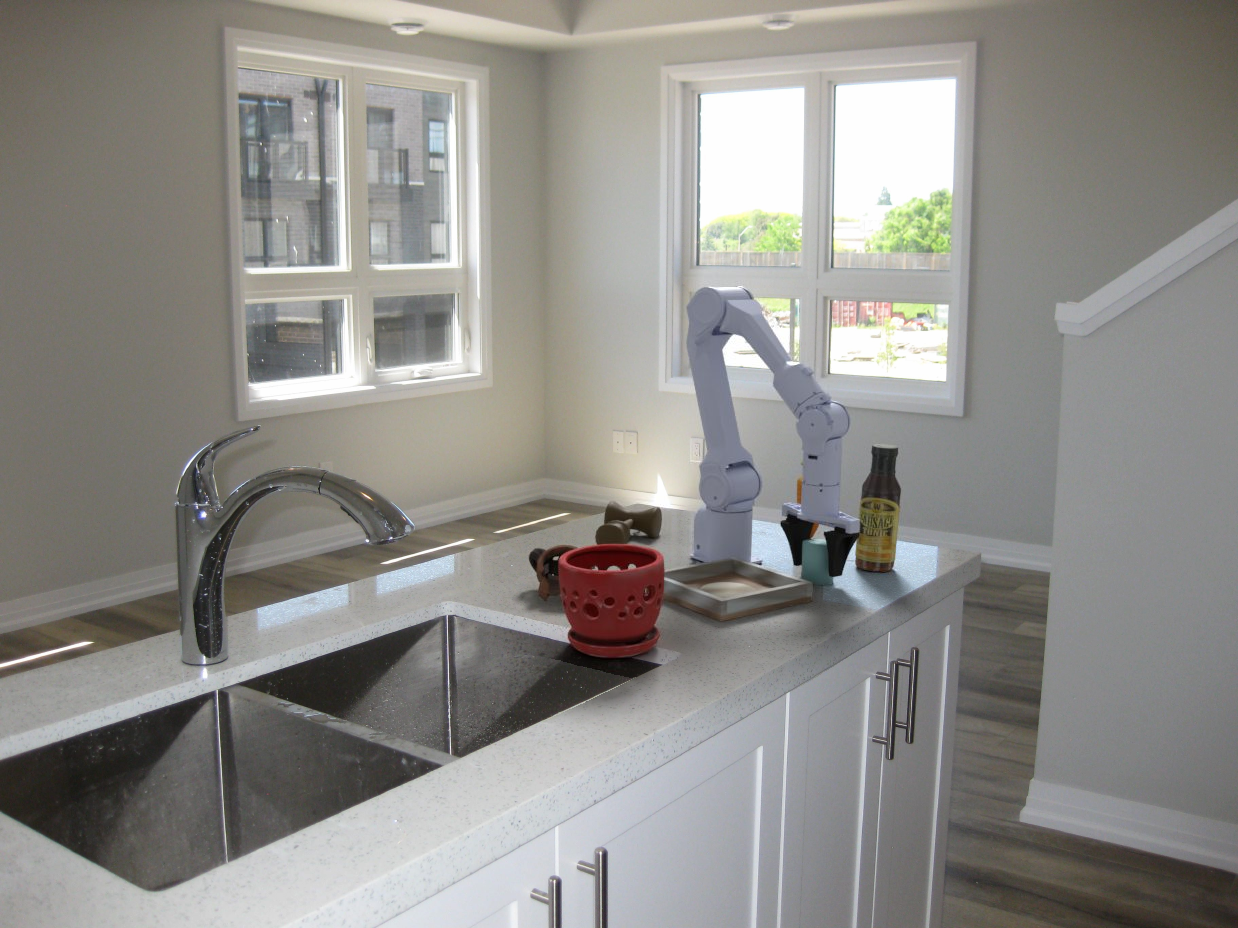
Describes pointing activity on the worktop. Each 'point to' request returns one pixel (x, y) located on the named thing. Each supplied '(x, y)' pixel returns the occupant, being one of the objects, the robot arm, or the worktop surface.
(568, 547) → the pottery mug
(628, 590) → the plant pot
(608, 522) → the kendama
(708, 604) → the corral
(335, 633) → the worktop surface
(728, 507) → the robot arm
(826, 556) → the teal cylinder
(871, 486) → the sauce bottle
